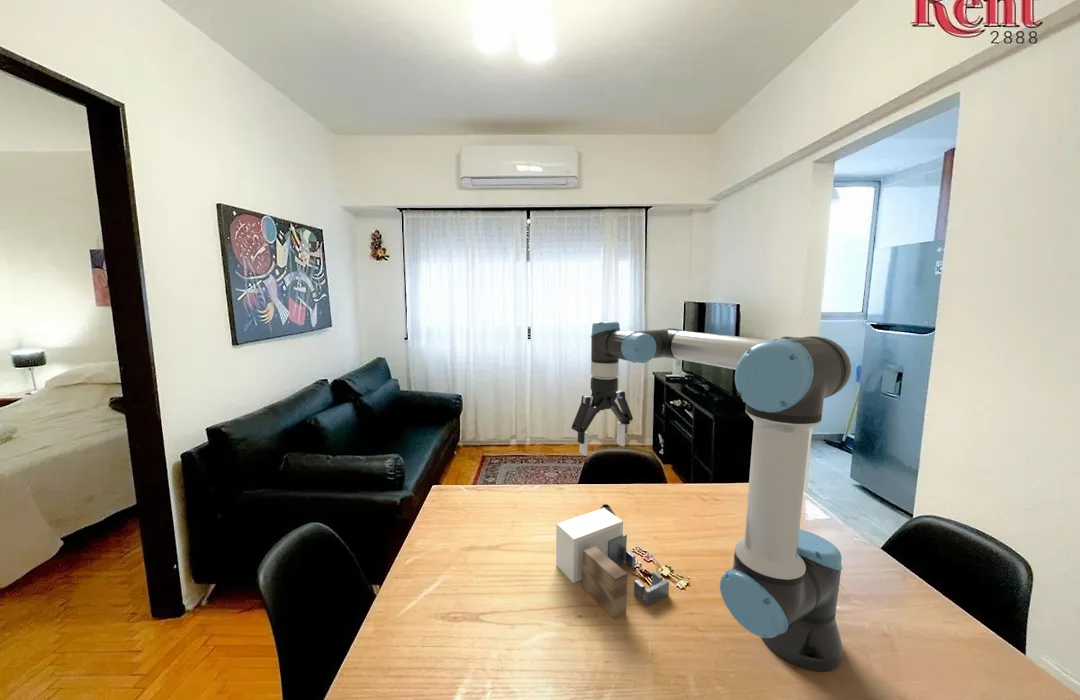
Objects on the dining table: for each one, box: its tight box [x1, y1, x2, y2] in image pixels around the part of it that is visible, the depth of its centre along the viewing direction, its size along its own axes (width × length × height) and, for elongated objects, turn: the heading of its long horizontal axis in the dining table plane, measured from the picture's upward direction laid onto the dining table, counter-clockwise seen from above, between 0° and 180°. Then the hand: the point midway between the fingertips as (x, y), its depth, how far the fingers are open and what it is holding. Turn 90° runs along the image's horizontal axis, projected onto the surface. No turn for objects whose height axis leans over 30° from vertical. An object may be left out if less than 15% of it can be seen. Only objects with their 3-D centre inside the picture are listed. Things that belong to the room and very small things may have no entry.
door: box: [581, 546, 628, 620], centre depth 98 cm, size 12×4×10 cm, turn 31°
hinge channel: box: [608, 533, 670, 607], centre depth 104 cm, size 15×7×8 cm, turn 31°
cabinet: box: [555, 508, 624, 584], centre depth 111 cm, size 8×16×12 cm, turn 121°
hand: (602, 449), depth 119 cm, fingers open, 13 cm apart
